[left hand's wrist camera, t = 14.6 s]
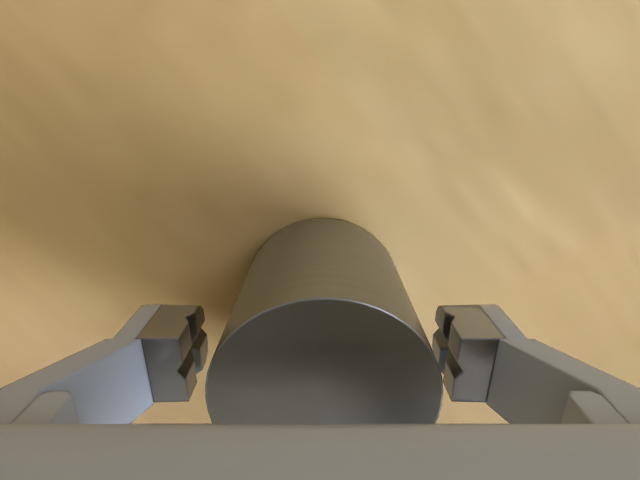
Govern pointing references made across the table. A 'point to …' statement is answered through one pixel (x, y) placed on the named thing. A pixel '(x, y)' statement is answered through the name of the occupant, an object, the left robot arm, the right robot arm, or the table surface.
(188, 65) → the table surface
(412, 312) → the can
